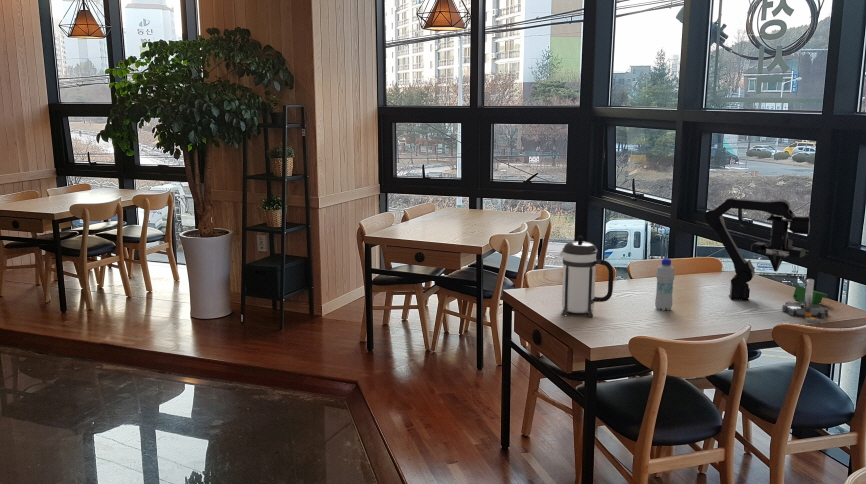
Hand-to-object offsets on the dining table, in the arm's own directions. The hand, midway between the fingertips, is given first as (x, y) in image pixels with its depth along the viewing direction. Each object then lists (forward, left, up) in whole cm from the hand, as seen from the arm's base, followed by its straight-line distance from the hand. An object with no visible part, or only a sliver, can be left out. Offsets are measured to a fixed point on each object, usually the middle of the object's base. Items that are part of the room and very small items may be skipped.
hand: (775, 271), depth 280 cm
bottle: (-43, -17, -13) cm, 48 cm away
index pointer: (+8, -22, -13) cm, 27 cm away
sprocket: (+8, -12, -13) cm, 20 cm away
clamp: (+14, +4, -13) cm, 20 cm away
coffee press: (-74, -28, -13) cm, 80 cm away
